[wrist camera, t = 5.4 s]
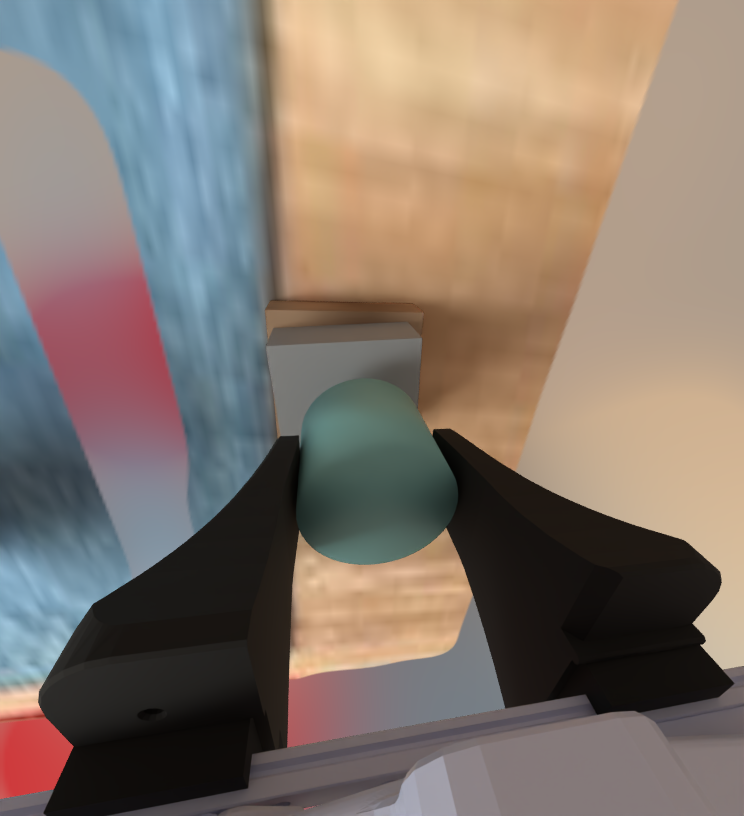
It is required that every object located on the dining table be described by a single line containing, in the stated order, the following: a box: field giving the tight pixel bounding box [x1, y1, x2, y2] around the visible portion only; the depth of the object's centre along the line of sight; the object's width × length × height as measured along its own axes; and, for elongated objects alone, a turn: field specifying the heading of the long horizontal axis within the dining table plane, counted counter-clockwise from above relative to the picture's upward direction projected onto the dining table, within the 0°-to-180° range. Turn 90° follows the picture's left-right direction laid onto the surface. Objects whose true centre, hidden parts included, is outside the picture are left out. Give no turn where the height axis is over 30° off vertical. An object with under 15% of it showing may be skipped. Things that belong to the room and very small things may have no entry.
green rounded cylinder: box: [296, 378, 458, 565], centre depth 11 cm, size 5×5×4 cm
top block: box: [266, 322, 422, 443], centre depth 15 cm, size 6×6×2 cm
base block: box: [265, 301, 424, 438], centre depth 18 cm, size 7×7×2 cm
